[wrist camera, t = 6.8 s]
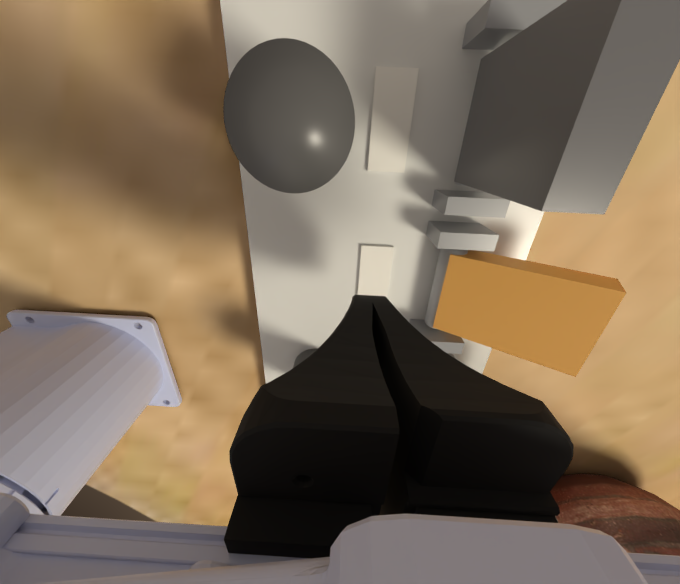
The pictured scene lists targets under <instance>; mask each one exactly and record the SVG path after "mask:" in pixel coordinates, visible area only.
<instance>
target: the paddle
mask: <svg viewBox="0 0 680 584" xmlns="http://www.w3.org/2000/svg"><path fill="white" fill-rule="evenodd" d="M679 60H680V0H567V1H566V2H564V3H563V4H561V5H560V6H558V7H557V8H555V9H554V10H552V11H551V12H549V13H548V14H547V15H545V16H544V17H542V18H541V19H539V20H538V21H536V22H535V23H533V24H532V25H530V26H529V27H527V28H526V29H524V30H523V31H521V32H520V33H518V34H517V35H516V36H514V37H513V38H511V39H510V40H508V41H507V42H505V43H504V44H502V45H501V46H499V47H498V48H496V49H495V50H493V51H492V52H490V53H489V54H486V55H484V56H483V58H482V59H481V61H480V65H479V70H478V74H477V79H476V83H475V88H474V93H473V97H472V102H471V106H470V111H469V115H468V120H467V124H466V129H465V133H464V138H463V142H462V147H461V152H460V156H459V161H458V165H457V170H456V174H455V179H454V182H455V184H457V185H464V186H469V187H472V188H475V189H478V190H481V191H484V192H487V193H489V194H492V195H495V196H498V197H501V198H504V199H507V200H510V201H513V202H516V203H519V204H522V205H525V206H528V207H530V208H533V209H536V210H539V211H546V212H566V213H587V214H605V212H606V210H607V208H608V206H609V204H610V202H611V200H612V198H613V196H614V194H615V191H616V189H617V187H618V185H619V183H620V181H621V179H622V177H623V175H624V173H625V171H626V169H627V167H628V165H629V163H630V161H631V159H632V157H633V154H634V152H635V150H636V148H637V146H638V144H639V142H640V140H641V138H642V136H643V134H644V132H645V130H646V128H647V126H648V124H649V122H650V120H651V117H652V115H653V113H654V111H655V109H656V107H657V105H658V103H659V101H660V99H661V97H662V95H663V93H664V91H665V89H666V87H667V85H668V83H669V80H670V78H671V76H672V74H673V72H674V70H675V68H676V66H677V64H678V62H679Z"/></svg>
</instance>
